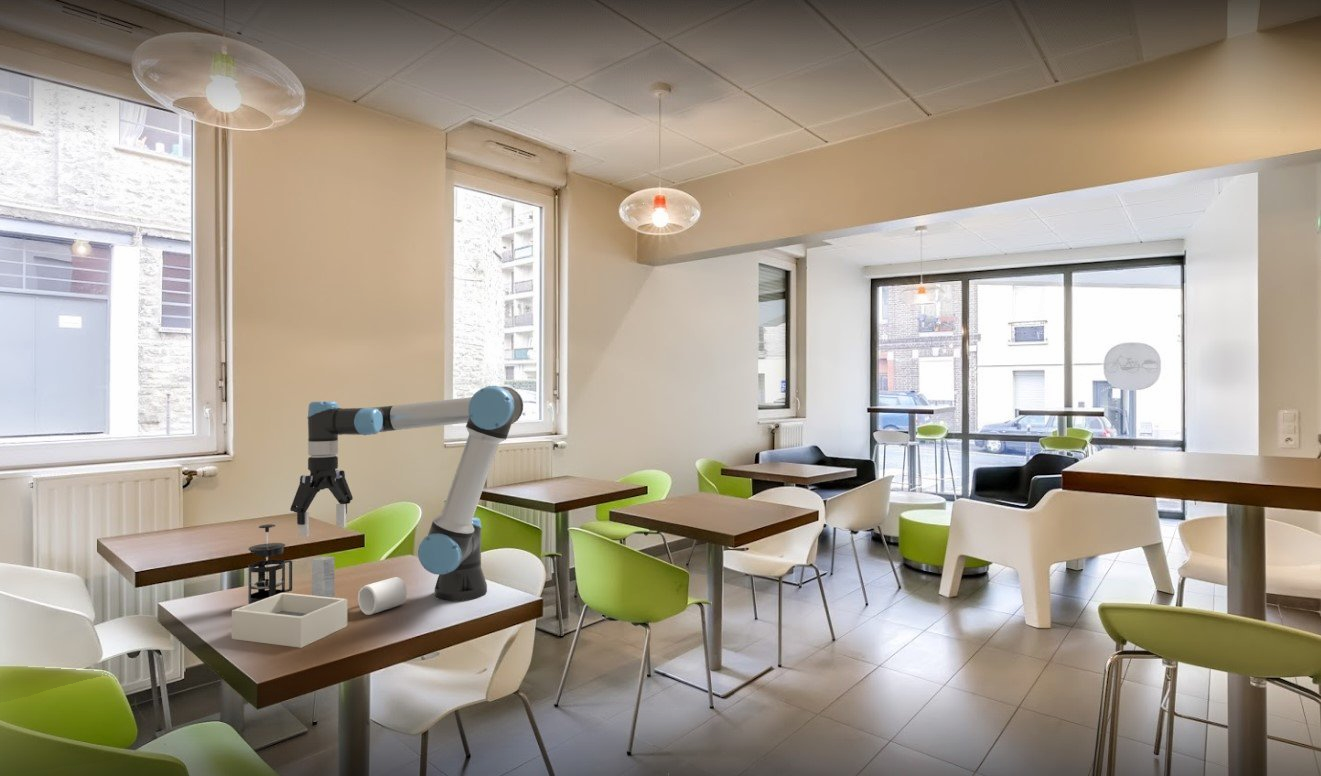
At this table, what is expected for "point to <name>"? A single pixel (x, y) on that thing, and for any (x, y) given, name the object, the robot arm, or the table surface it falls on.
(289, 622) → the box
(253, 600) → the french press
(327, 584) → the peg
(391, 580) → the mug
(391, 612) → the table surface
